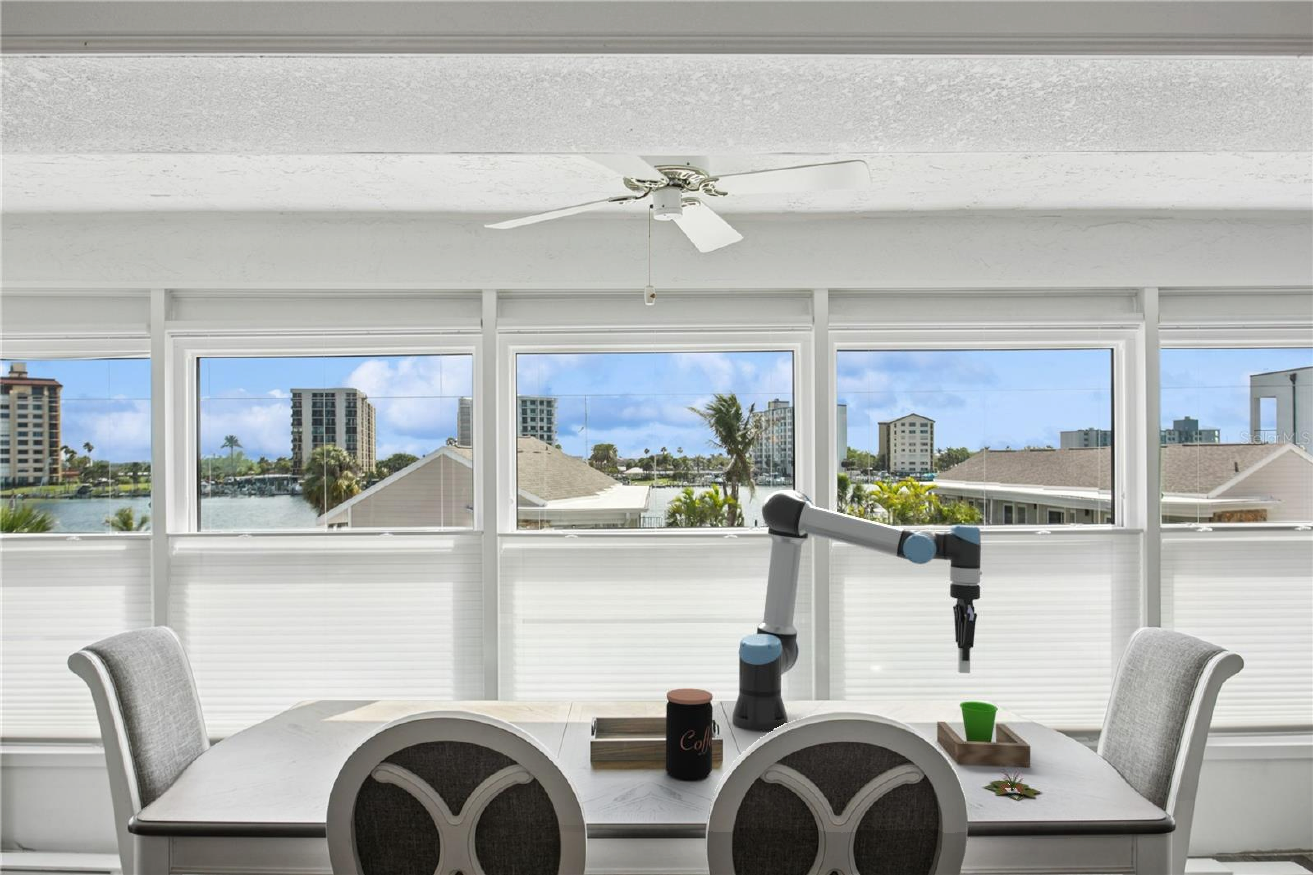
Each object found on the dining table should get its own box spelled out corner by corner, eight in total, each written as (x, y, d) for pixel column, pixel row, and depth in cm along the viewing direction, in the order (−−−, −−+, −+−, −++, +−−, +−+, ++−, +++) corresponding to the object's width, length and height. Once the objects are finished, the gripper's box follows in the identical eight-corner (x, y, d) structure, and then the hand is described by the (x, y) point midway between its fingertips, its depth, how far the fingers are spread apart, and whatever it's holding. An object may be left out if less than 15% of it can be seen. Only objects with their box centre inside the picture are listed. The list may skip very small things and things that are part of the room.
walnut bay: (957, 764, 199) (957, 743, 200) (937, 741, 217) (937, 721, 218) (1030, 767, 198) (1030, 746, 199) (1003, 743, 216) (1003, 723, 217)
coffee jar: (679, 785, 184) (680, 702, 184) (657, 769, 193) (658, 691, 194) (720, 777, 189) (721, 697, 189) (696, 763, 198) (697, 686, 199)
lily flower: (1053, 796, 181) (1053, 775, 182) (1020, 807, 175) (1020, 785, 175) (1004, 779, 192) (1004, 759, 192) (971, 789, 185) (971, 768, 185)
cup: (991, 745, 215) (991, 702, 215) (1002, 757, 206) (1002, 711, 206) (955, 743, 215) (955, 700, 216) (965, 755, 206) (965, 710, 207)
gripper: (987, 587, 216) (986, 678, 215) (971, 580, 229) (970, 667, 228) (958, 586, 217) (956, 677, 216) (944, 579, 230) (942, 666, 229)
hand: (963, 672), depth 222 cm, fingers closed
